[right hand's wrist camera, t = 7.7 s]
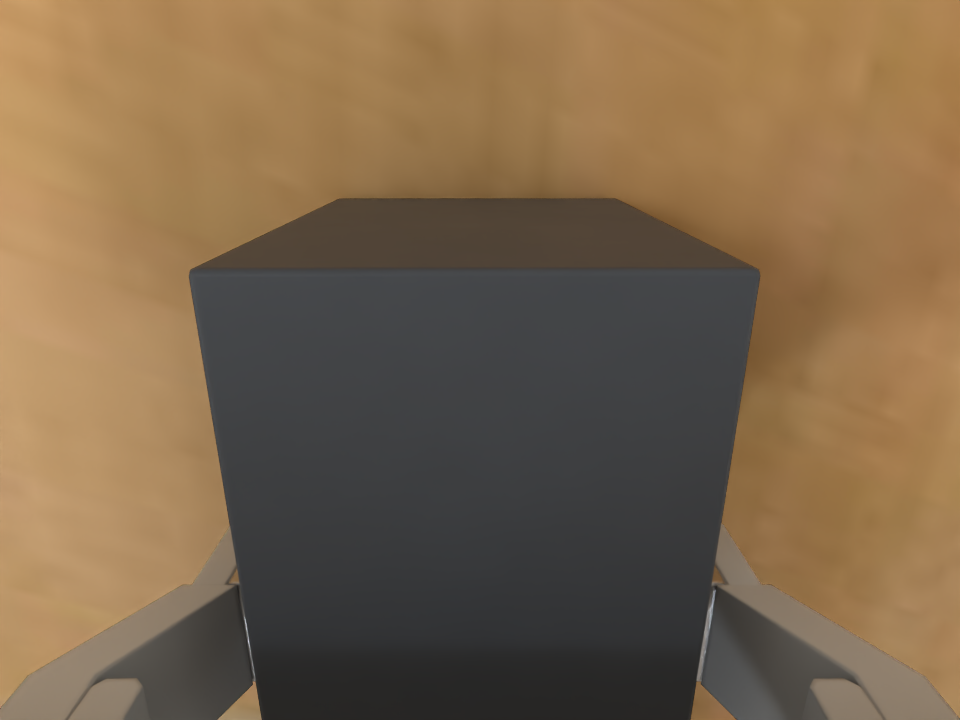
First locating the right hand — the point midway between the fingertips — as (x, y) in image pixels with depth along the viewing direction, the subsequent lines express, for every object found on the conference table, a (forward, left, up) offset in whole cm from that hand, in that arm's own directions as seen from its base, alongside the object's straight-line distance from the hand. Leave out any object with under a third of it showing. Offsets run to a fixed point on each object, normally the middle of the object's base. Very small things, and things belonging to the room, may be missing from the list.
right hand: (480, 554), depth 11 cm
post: (+24, -11, -3) cm, 26 cm away
